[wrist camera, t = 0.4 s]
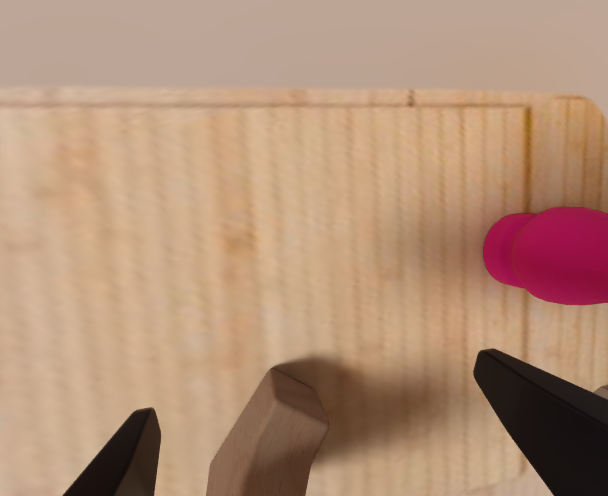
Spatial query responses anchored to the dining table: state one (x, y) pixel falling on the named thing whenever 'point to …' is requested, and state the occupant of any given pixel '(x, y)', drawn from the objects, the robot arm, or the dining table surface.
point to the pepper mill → (552, 254)
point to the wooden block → (271, 442)
